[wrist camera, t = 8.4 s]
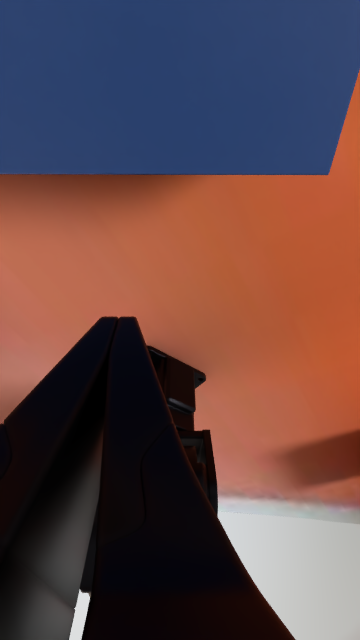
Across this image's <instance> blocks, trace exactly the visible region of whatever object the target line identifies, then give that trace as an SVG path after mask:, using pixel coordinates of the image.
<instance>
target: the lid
mask: <svg viewBox="0 0 360 640" xmlns="http://www.w3.org/2000/svg"><path fill="white" fill-rule="evenodd" d="M359 69H360V0H0V174H111V175H328V174H329V172H330V168H331V165H332V161H333V158H334V155H335V151H336V148H337V144H338V141H339V138H340V134H341V131H342V127H343V124H344V120H345V117H346V114H347V110H348V107H349V103H350V100H351V97H352V93H353V90H354V86H355V83H356V80H357V76H358V73H359Z"/></svg>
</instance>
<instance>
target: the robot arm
mask: <svg viewBox="0 0 360 640" xmlns="http://www.w3.org/2000/svg"><path fill="white" fill-rule="evenodd" d="M205 381H206V375H205V374H204V373H203V372H201V371H199V370H197V369H195V368H193V367H191V366H189V365H187V364H185V363H183V362H181V361H179V360H177V359H175V358H173V357H171V356H169V355H167V354H165V353H163V352H161V351H159V350H157V349H155V348H153V347H151V346H146V343H145V341H144V338H143V335H142V332H141V330H140V327H139V324H138V321H137V319H136V317H120V318H118V317H101V318H100V319H99V320H98V321H97V322H96V323H95V324H94V325H93V326H92V327H91V328H90V330H89V331H88V332H87V333H86V334H85V335H84V336H83V337H82V338H81V339H80V340H79V341H78V342H77V343H76V344H75V345H74V347H73V348H72V349H71V350H70V351H69V352H68V353H67V354H66V355H65V356H64V357H63V358H62V359H61V360H60V361H59V362H58V364H57V365H56V366H55V367H54V368H53V369H52V370H51V371H50V372H49V373H48V374H47V375H46V376H45V377H44V378H43V379H42V381H41V382H40V383H39V384H38V385H37V386H36V387H35V388H34V389H33V390H32V391H31V392H30V393H29V394H28V395H27V396H26V398H25V399H24V400H23V401H22V402H21V403H20V404H19V405H18V406H17V407H16V408H15V409H14V410H13V411H12V412H11V414H10V415H9V416H8V417H7V418H6V419H5V420H4V424H0V640H69V636H70V632H71V627H72V623H73V618H74V613H75V609H74V608H75V607H76V603H77V598H78V593H79V589H80V590H81V592H82V593H89V596H90V602H89V607H88V612H87V616H86V621H85V625H84V630H83V635H82V640H295V638H294V637H293V636H292V634H291V633H290V632H289V630H288V629H287V628H286V626H285V625H284V624H283V622H282V621H281V619H280V618H279V617H278V615H277V614H276V613H275V611H274V610H273V609H272V607H271V606H270V605H269V604H268V602H267V601H266V599H265V598H264V597H263V595H262V594H261V592H260V591H259V590H258V588H257V586H256V585H255V583H254V582H253V580H252V578H251V577H250V575H249V574H248V572H247V570H246V569H245V567H244V565H243V563H242V562H241V560H240V558H239V556H238V555H237V553H236V551H235V549H234V547H233V546H232V544H231V542H230V540H229V538H228V536H227V534H226V532H225V530H224V529H223V527H222V525H221V523H220V521H219V519H218V517H217V513H218V494H217V479H216V471H215V464H214V457H213V449H212V442H211V435H210V430H202V431H194V412H195V410H196V406H195V388H197V387H198V386H199V385H201V384H202V383H203V382H205Z"/></svg>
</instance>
